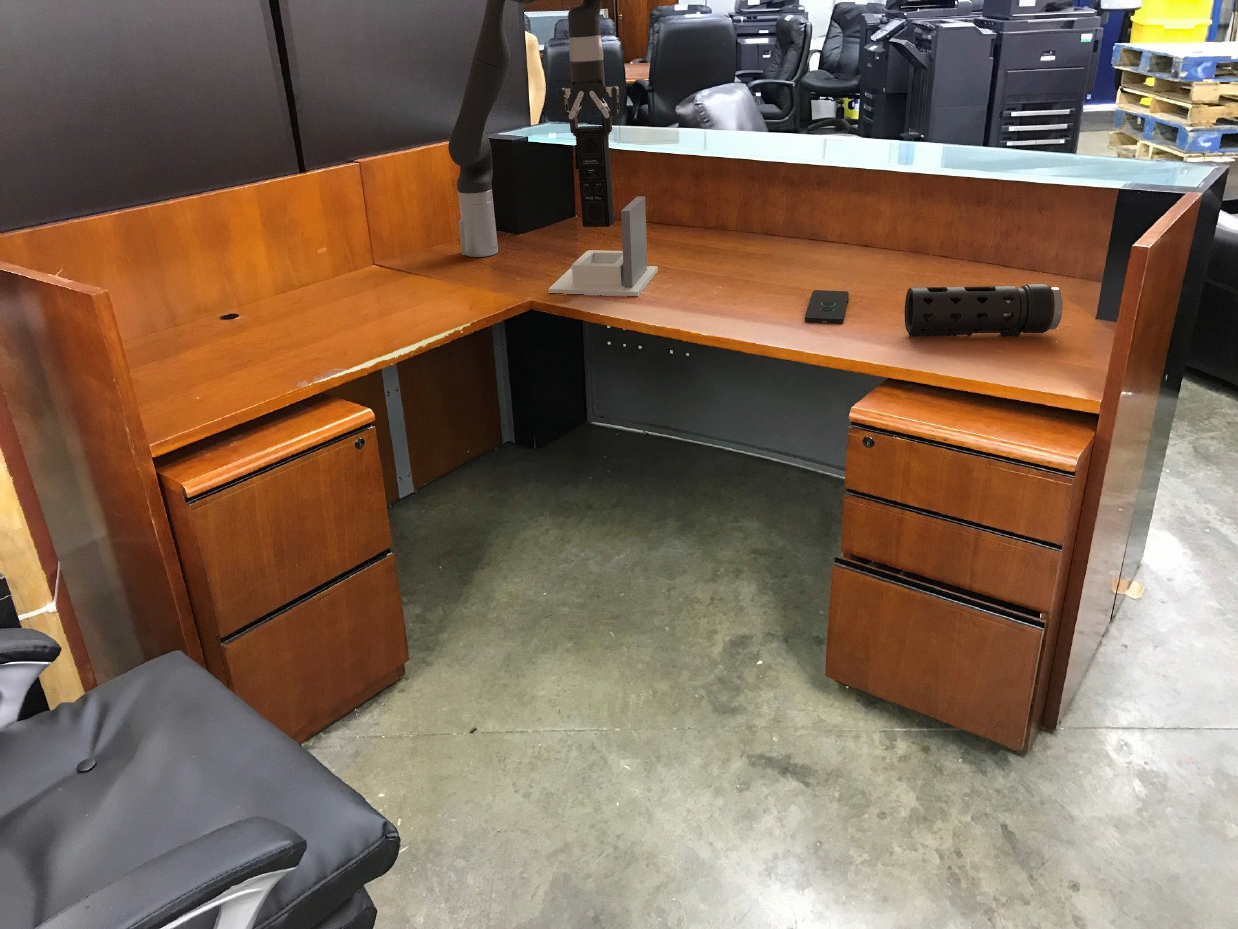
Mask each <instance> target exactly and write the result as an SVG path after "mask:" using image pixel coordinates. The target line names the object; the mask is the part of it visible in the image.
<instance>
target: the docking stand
mask: <svg viewBox="0 0 1238 929" xmlns="http://www.w3.org/2000/svg"><path fill="white" fill-rule="evenodd" d="M646 211H647V210H646V196H636V197H635V198H634V199H633V200H631V201H630V203H628V204H627V205H626V206H625V207H624V208H622V209H621V210H620V215H621V216H620V218H621V219H620V220H621V241H622V242H621V243H622V250H597V249H596V250H595V249H594V250H593V249H592V250H587V251H585V252H584V253H583V254H582V255H581V256H580V257H579V258H578V259H576V261H574V262H573V263H572V264H571V267H570V268H569V269H568V270H567V271H566V272H564V274H562V275H561V276H560V277H559V278H558V279H557V280H556V281H555V282H554V283H553V284H552V285H551V286H550V287H549V288H547V290H548V293H547V294H549V293H567V294H569V293H570V294H584V295H583V296H598V295H599V296H600V295H602V296H603V297H627V296H638V297H640V295H641V294H642V292H643V291H644V289H645V288H646V287H647V286H648V285H649V284H650V282H651V281H652V279H653V278H654V277H655V276H656V274H657V273H658V270H659V268H658V266H657V265H656V266H655V265H651V266H650V265H648V248H647V246H648V245H647V218H646V216H647V215H646ZM650 280H651V281H650ZM640 293H641V294H640ZM567 294H566V295H567ZM600 297H601V296H600Z"/></svg>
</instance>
